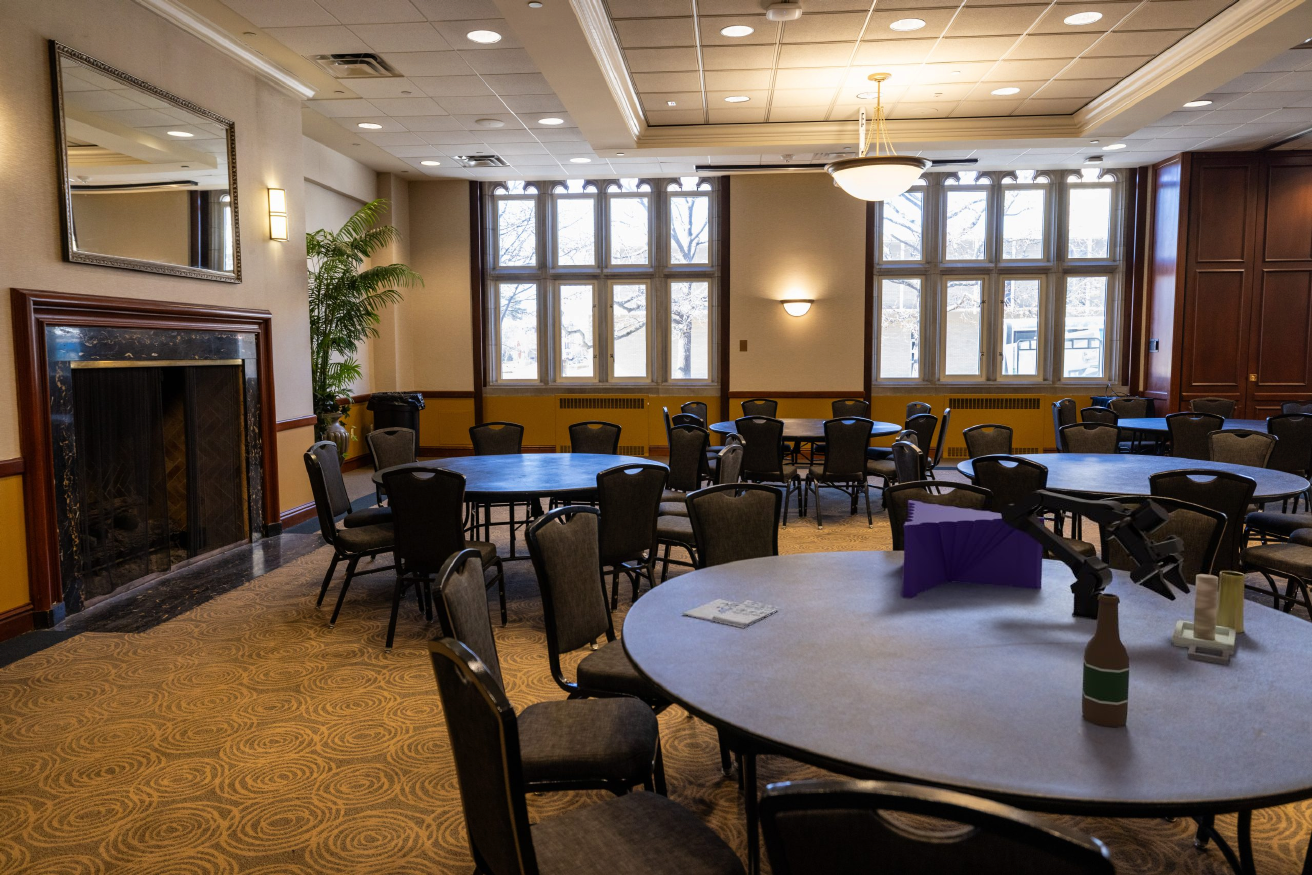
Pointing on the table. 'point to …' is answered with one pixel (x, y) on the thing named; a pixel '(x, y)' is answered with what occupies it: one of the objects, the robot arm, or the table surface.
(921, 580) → the purple jagged triangular block
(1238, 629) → the vase
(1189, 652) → the holder
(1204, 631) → the dowel
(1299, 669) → the table surface
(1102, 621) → the beer bottle
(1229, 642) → the tray
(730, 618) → the white square relief plate
